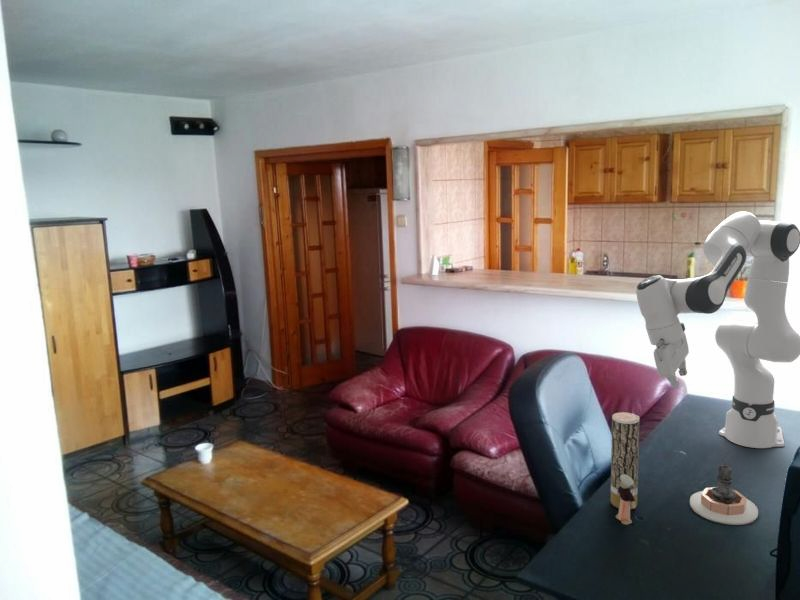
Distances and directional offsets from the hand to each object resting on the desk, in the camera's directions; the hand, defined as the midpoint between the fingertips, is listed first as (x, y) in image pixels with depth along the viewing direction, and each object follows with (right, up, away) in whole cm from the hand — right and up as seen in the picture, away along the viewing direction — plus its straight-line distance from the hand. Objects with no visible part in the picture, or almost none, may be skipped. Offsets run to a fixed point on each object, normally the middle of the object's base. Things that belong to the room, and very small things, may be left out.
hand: (680, 380), depth 175 cm
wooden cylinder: (-18, -33, -6) cm, 38 cm away
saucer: (+7, -32, -10) cm, 35 cm away
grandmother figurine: (-20, -35, -14) cm, 42 cm away
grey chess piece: (+7, -32, -10) cm, 34 cm away
